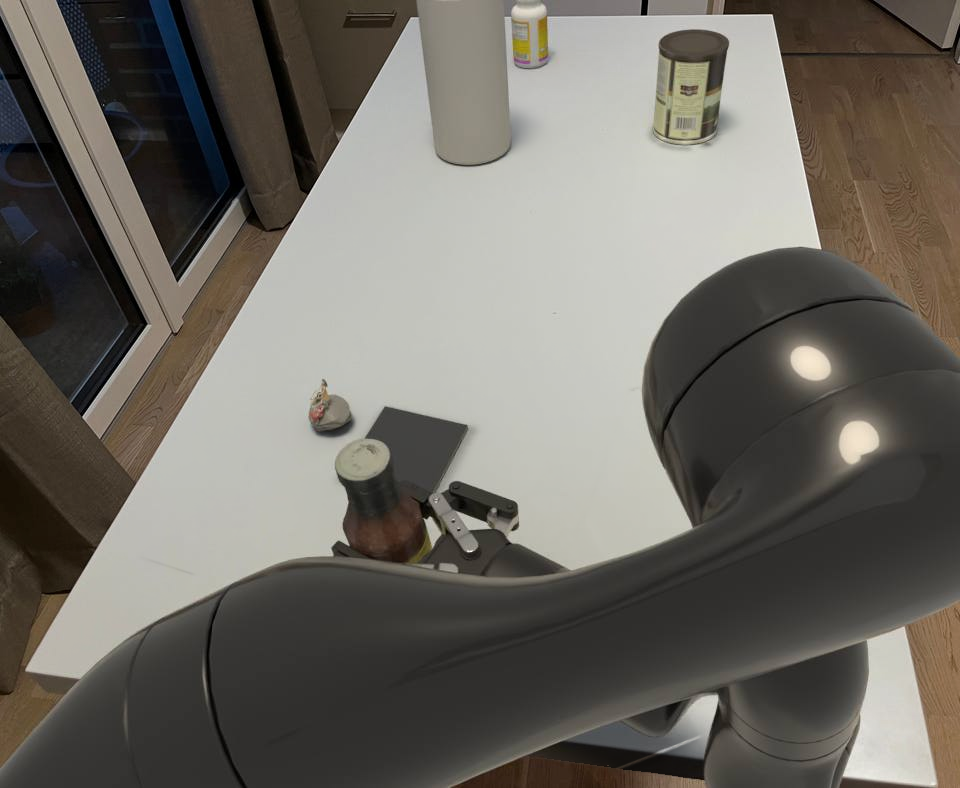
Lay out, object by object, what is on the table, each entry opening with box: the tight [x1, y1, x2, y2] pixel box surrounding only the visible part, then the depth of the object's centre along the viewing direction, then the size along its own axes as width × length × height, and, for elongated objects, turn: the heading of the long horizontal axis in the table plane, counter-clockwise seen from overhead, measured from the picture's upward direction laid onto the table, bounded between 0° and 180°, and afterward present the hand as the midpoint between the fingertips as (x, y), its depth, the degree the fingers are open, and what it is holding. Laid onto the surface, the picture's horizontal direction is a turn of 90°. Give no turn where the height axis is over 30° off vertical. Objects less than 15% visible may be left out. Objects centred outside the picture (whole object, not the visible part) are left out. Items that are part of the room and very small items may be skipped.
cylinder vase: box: [415, 0, 512, 166], centre depth 121 cm, size 12×12×25 cm
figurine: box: [308, 378, 353, 432], centre depth 86 cm, size 5×4×6 cm
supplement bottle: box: [510, 0, 549, 69], centre depth 148 cm, size 7×7×13 cm
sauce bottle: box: [334, 437, 433, 563], centre depth 63 cm, size 6×6×20 cm
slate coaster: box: [364, 405, 469, 493], centre depth 84 cm, size 10×10×1 cm
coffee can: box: [652, 28, 730, 146], centre depth 124 cm, size 10×10×14 cm
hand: (364, 519), depth 63 cm, fingers closed on sauce bottle, 6 cm apart
